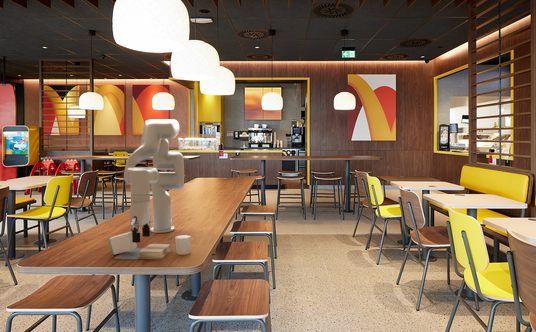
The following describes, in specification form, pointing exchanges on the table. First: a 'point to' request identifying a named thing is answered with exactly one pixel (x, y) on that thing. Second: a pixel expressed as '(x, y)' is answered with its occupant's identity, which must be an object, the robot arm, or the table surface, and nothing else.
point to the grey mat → (129, 254)
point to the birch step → (154, 251)
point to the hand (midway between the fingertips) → (141, 239)
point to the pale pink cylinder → (183, 244)
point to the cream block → (122, 243)
